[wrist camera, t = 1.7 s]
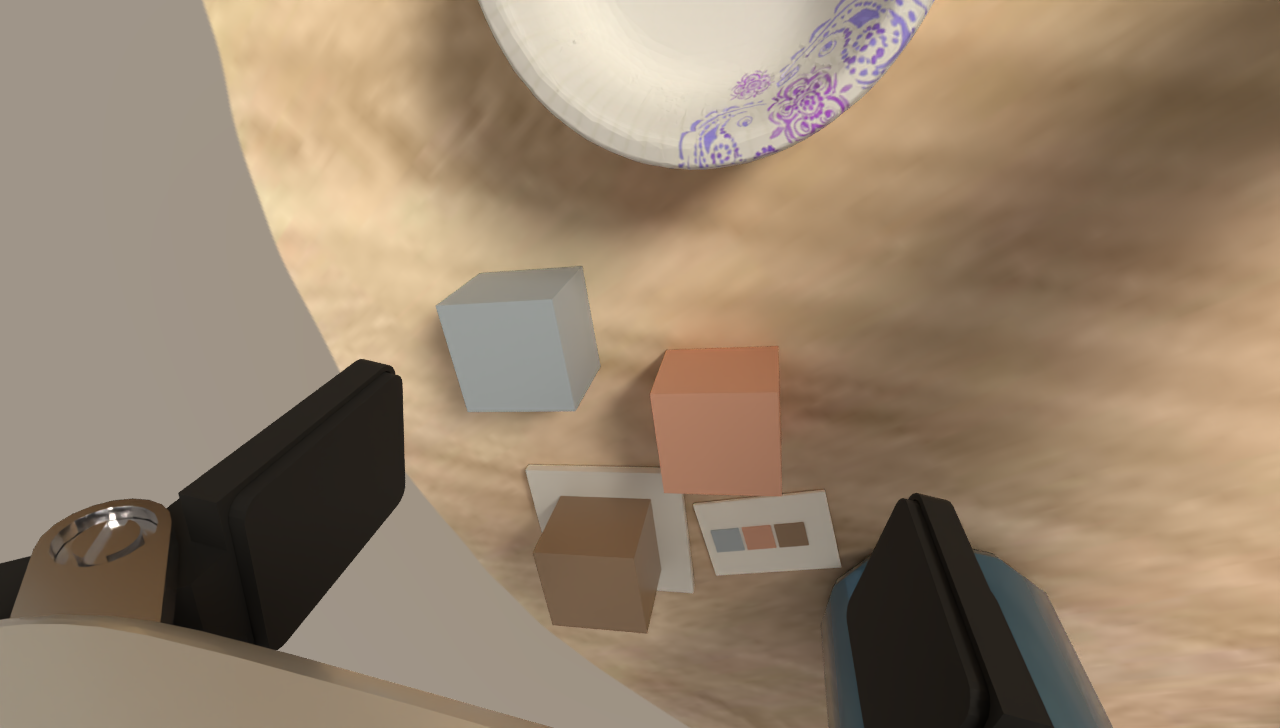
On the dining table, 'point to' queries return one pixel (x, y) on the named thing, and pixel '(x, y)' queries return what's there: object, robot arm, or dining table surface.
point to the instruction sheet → (769, 533)
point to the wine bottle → (1032, 628)
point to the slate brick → (522, 340)
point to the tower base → (624, 487)
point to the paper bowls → (700, 69)
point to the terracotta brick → (719, 421)
